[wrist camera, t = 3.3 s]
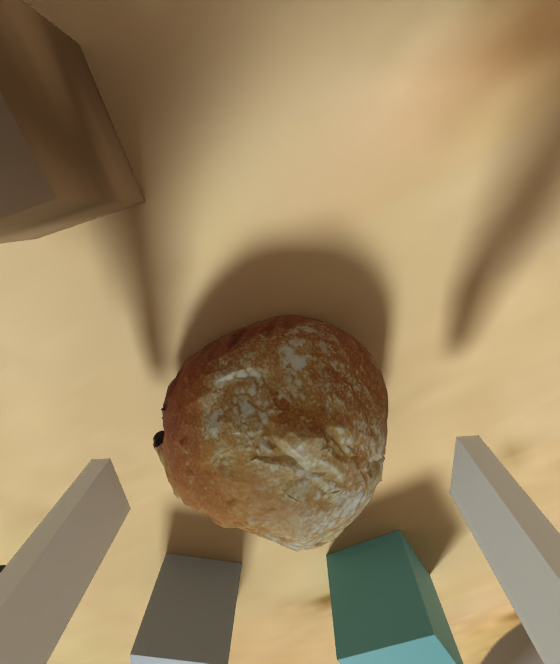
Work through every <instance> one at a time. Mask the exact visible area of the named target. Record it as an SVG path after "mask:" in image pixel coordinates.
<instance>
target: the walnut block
mask: <svg viewBox="0 0 560 664" xmlns="http://www.w3.org/2000/svg"><path fill="white" fill-rule="evenodd" d="M142 202H145V200H144V197H143V195H142V192H141V190H140V188H139V185H138V183H137V181H136V178H135V176H134V174H133V171H132V169H131V166H130V164H129V162H128V159H127V157H126V155H125V152H124V150H123V148H122V145H121V143H120V140H119V138H118V136H117V133H116V131H115V129H114V126H113V124H112V121H111V119H110V117H109V114H108V112H107V110H106V107H105V105H104V103H103V100H102V98H101V95H100V93H99V91H98V88H97V86H96V84H95V81H94V79H93V77H92V74H91V72H90V69H89V67H88V65H87V62H86V60H85V58H84V55H83V53H82V51H81V48H80V46H79V44H78V43H77V42H76V41H74V40H73V39H72V38H70V37H69V36H68V35H66V34H65V33H64V32H62V31H61V30H60V29H59V28H57V27H56V26H55V25H53V24H52V23H51V22H49V21H48V20H47V19H46V18H44V17H43V16H42V15H40V14H39V13H38V12H36V11H35V10H34V9H32V8H31V7H30V6H29V5H27V4H26V3H25V2H23V1H22V0H0V243H8V242H16V241H23V240H31V239H37V238H40V237H43V236H46V235H49V234H52V233H55V232H58V231H61V230H63V229H66V228H69V227H72V226H75V225H78V224H81V223H84V222H87V221H90V220H93V219H96V218H98V217H101V216H104V215H107V214H110V213H113V212H116V211H119V210H122V209H125V208H128V207H131V206H134V205H136V204H139V203H142Z"/></svg>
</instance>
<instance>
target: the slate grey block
mask: <svg viewBox="0 0 560 664" xmlns="http://www.w3.org/2000/svg"><path fill="white" fill-rule="evenodd" d="M241 564H242V563H238V562H230V561H223V560H215V559H207V558H199V557H192V556H184V555H176V554H169V553H166V555H165V558H164V561H163V564H162V567H161V569H160V572H159V575H158V578H157V581H156V583H155V586H154V589H153V592H152V595H151V597H150V600H149V603H148V606H147V609H146V611H145V614H144V617H143V620H142V623H141V625H140V628H139V631H138V634H137V637H136V639H135V642H134V645H133V648H132V651H131V653H130V659H131V664H228V659H229V652H230V645H231V637H232V630H233V623H234V615H235V608H236V601H237V593H238V586H239V579H240V571H241Z"/></svg>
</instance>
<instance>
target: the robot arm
mask: <svg viewBox="0 0 560 664" xmlns="http://www.w3.org/2000/svg"><path fill="white" fill-rule="evenodd" d="M450 495H451V496H452V498H453V500H454V502H455V504H456V505H457V507H458V509H459V511H460V513H461V514H462V516H463V518H464V520H465V522H466V523H467V525H468V527H469V529H470V531H471V532H472V534H473V536H474V538H475V540H476V541H477V543H478V545H479V547H480V549H481V550H482V552H483V554H484V556H485V558H486V560H487V561H488V563H489V565H490V567H491V569H492V570H493V572H494V574H495V576H496V578H497V579H498V581H499V583H500V585H501V587H502V588H503V590H504V592H505V594H506V596H507V597H508V599H509V601H510V603H511V605H512V606H513V608H514V610H515V612H516V614H517V615H518V617H519V619H520V621H521V623H522V625H523V626H524V628H525V630H526V632H527V634H528V635H529V637H530V639H531V641H532V643H533V644H534V646H535V648H536V650H537V651H538V653H539V655H540V657H541V659H542V661H543V662H544V664H560V534H559V532H558V531H557V530H556V529H555V528H554V526H553V525H552V524H551V523H550V522H549V520H548V519H547V518H546V517H545V515H544V514H543V513H542V512H541V511H540V509H539V508H538V507H537V506H536V505H535V503H534V502H533V501H532V500H531V498H530V497H529V496H528V495H527V494H526V492H525V491H524V490H523V489H522V488H521V486H520V485H519V484H518V483H517V481H516V480H515V479H514V478H513V477H512V475H511V474H510V473H509V472H508V471H507V469H506V468H505V467H504V466H503V464H502V463H501V462H500V461H499V460H498V458H497V457H496V456H495V455H494V454H493V452H492V451H491V450H490V449H489V447H488V446H487V445H486V444H485V443H484V441H483V440H482V439H481V438H480V437H479V435H478V436H462V437H456V444H455V453H454V461H453V469H452V478H451V486H450ZM130 509H131V508H130V506H129V503H128V501H127V499H126V496H125V494H124V491H123V489H122V486H121V484H120V481H119V479H118V476H117V474H116V472H115V469H114V467H113V464H112V462H111V459H110V458H108V459H92V460H91V461H90V462H89V464H88V465H87V466H86V467H85V468H84V470H83V471H82V472H81V473H80V475H79V476H78V477H77V478H76V480H75V481H74V482H73V483H72V485H71V486H70V487H69V488H68V490H67V491H66V492H65V493H64V495H63V496H62V497H61V498H60V500H59V501H58V502H57V503H56V504H55V506H54V507H53V508H52V509H51V511H50V512H49V513H48V514H47V516H46V517H45V518H44V519H43V521H42V522H41V523H40V524H39V526H38V527H37V528H36V529H35V531H34V532H33V533H32V534H31V536H30V537H29V538H28V539H27V540H26V542H25V543H24V544H23V545H22V547H21V548H20V549H19V550H18V552H17V553H16V554H15V555H14V557H13V558H12V559H11V560H10V562H9V563H8V564H7V565H0V664H46V663H47V661H48V659H49V658H50V656H51V654H52V652H53V650H54V648H55V647H56V645H57V643H58V641H59V639H60V637H61V635H62V634H63V632H64V630H65V628H66V626H67V624H68V623H69V621H70V619H71V617H72V615H73V613H74V612H75V610H76V608H77V606H78V604H79V602H80V601H81V599H82V597H83V595H84V593H85V591H86V589H87V588H88V586H89V584H90V582H91V580H92V578H93V577H94V575H95V573H96V571H97V569H98V567H99V566H100V564H101V562H102V560H103V558H104V556H105V555H106V553H107V551H108V549H109V547H110V545H111V543H112V542H113V540H114V538H115V536H116V534H117V532H118V531H119V529H120V527H121V525H122V523H123V521H124V520H125V518H126V516H127V514H128V512H129V510H130Z"/></svg>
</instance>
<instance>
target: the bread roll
mask: <svg viewBox="0 0 560 664" xmlns="http://www.w3.org/2000/svg"><path fill="white" fill-rule="evenodd" d="M161 410H162V413H163V417H162V419H163V427H164V431H160V432H158V433H156V435H155V436H154V437H153V440H154V444H153V446H154V448H155V450H156V451H157V453H158V455H159V458H160V460H161V462H162V464H163V466H164V468H165V471H166V475H167V478H168V481H169V483H170V484H171V486H172V488H173V492H174V495H175V496H176V497H177V498H178V499H182V501H183V502H184V504H186V505H187V506H190V507H191V508H192V509H193V510H194V511H198V512H200V513H205V514H207V515H208V516H209V517H210V518H211V520H212V521H213V522H214V523H215V524H217V525H219V526H221V527H223V528H228V529H229V528H236V527H237V528H240V529H242V530H244V531H247V532H250V533H253V534H256V535H258V536H261V537H263V538H266V539H268V540H271V541H274V542H276V543H278V544H280V545H282V546H284V547H287V548H290V549H292V550H295V551H299V550H305V549H315V548H317V547H319V546H322V545H323V544H325V543H327V542H329V541H331V540H333V539H334V538H336V537H338V536H339V535H340V533H342V532H343V530H344V528H346V527H347V526H348V525H350V524H351V523H352V522H353V520H354V519H355V518H356V517H357V516H359V515H360V513H361V512H362V511H363V509H364V508H365V507H366V505H367V504H368V502H369V501H370V500H371V498H372V495H373V493H374V490H375V488H376V485H377V484H378V483H379V482H380V481H382V469H383V461H384V459H385V457H384V455H385V447H386V440H387V417H388V394H387V388H386V385H385V382H384V379H383V376H382V374H381V372H380V370H379V368H378V366H377V364H376V362H375V360H374V359H373V357H372V356H371V355H370V353H369V352H368V351H367V350H366V349H365V348H364V347H363V346H362V345H361V344H360V343H359V342H358V341H357V340H356V339H355V338H353V337H351V336H350V335H348V334H347V333H345V332H344V331H342V330H340V329H339V328H337V327H335V326H332V325H330V324H328V323H325V322H321V321H317V320H313V319H309V318H304V317H299V316H278V317H274V318H269V319H267V320H265V321H263V322H258V323H254V324H253V325H251V326H250V327H248V328H243V329H239V330H237V331H235V332H233V333H231V334H228V335H225V336H223V337H221V338H220V339H218V340H216V341H214V342H212V343H210V344H208V345H206V346H205V348H204V349H202V350H201V351H199V352H197V353H195V354H194V355H192V356H191V357H190V358H189V359H187V360H186V362H185V364H184V365H183V367H182V368H181V370H180V371H179V372H178V374H177V376H176V378H175V379H174V380H173V381H172V382H171V383H170V385H169V386H168V389H167V393H166V397H165V401H164V404H163V408H162V409H161Z"/></svg>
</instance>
